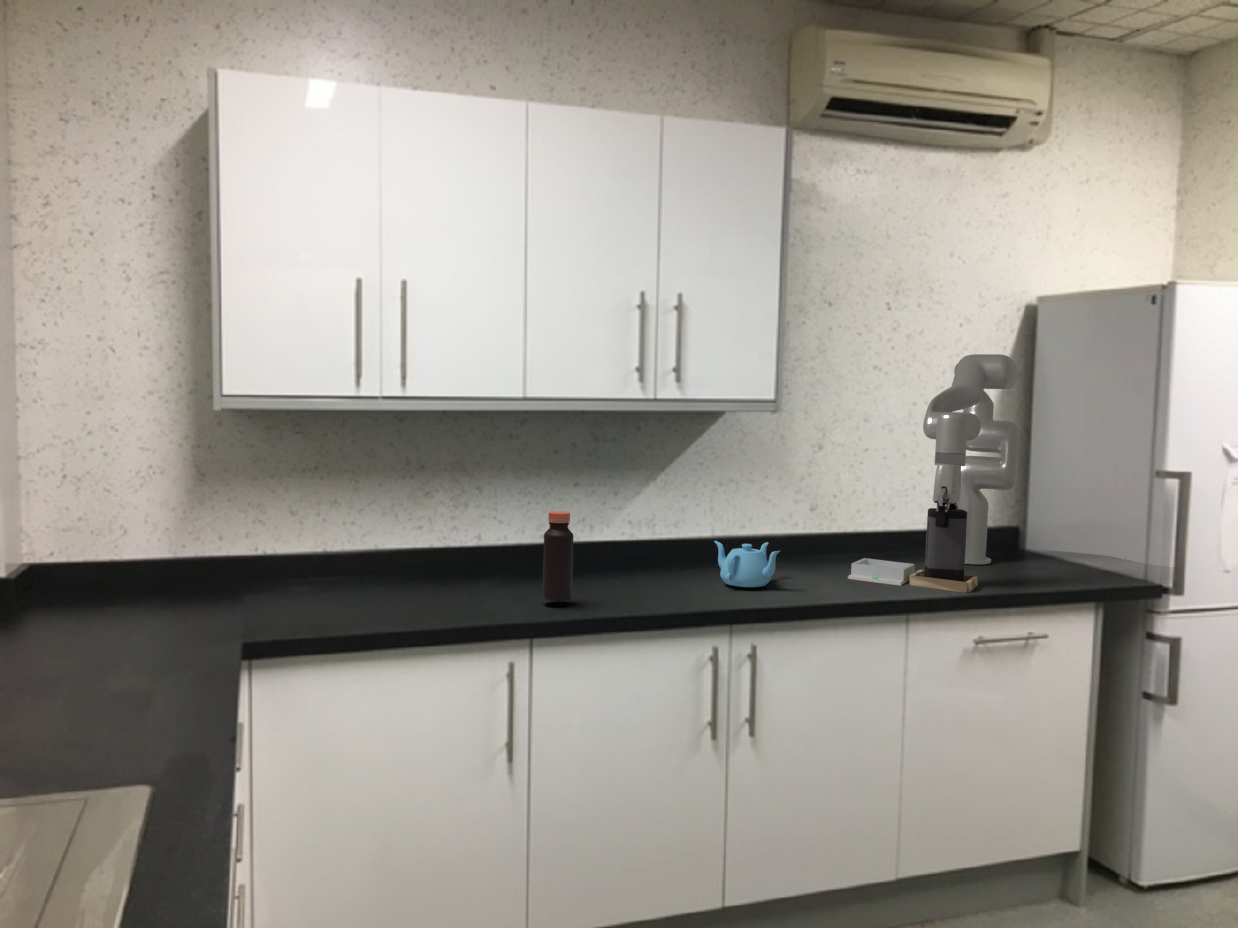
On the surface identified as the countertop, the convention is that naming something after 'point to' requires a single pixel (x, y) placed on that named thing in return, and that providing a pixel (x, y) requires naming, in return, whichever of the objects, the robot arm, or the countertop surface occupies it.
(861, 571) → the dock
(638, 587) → the countertop surface
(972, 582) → the wooden tray
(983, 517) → the robot arm
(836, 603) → the countertop surface
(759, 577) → the teapot
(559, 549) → the bottle
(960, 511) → the electronic device
